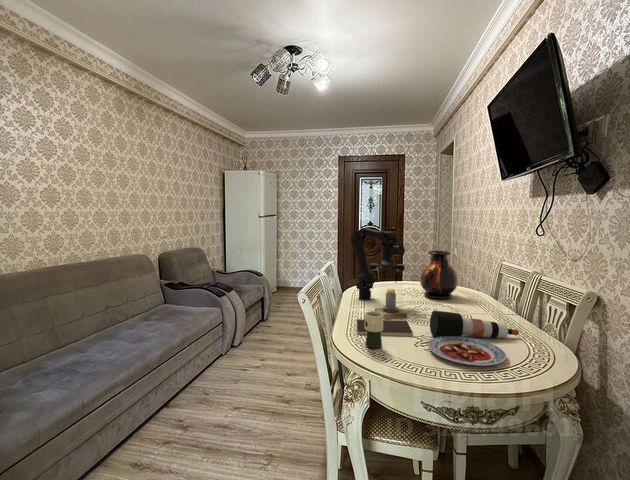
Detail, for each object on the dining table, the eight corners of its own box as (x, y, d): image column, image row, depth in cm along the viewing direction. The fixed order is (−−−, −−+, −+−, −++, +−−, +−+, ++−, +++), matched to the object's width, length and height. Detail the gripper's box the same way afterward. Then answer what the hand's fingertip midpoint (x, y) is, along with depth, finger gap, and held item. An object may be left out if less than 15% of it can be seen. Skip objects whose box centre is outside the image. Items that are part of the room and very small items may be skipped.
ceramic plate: (468, 377, 105) (468, 368, 105) (413, 347, 128) (413, 339, 128) (523, 362, 115) (523, 354, 115) (463, 337, 139) (463, 330, 138)
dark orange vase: (414, 293, 213) (414, 250, 211) (446, 292, 216) (447, 249, 214) (429, 302, 192) (430, 254, 190) (464, 301, 194) (465, 253, 192)
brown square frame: (374, 312, 173) (374, 308, 173) (395, 310, 176) (395, 306, 176) (384, 319, 162) (385, 315, 161) (407, 317, 165) (407, 313, 164)
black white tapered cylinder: (517, 350, 135) (527, 333, 130) (433, 340, 137) (439, 323, 132) (507, 331, 144) (517, 314, 138) (428, 322, 145) (434, 305, 140)
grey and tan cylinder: (383, 315, 169) (384, 289, 167) (388, 312, 172) (388, 287, 171) (393, 316, 165) (393, 291, 164) (397, 314, 169) (397, 289, 168)
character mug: (365, 340, 135) (365, 308, 134) (383, 341, 133) (383, 310, 132) (363, 351, 124) (363, 317, 123) (382, 352, 123) (383, 318, 122)
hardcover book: (412, 337, 139) (412, 332, 139) (357, 335, 142) (357, 330, 141) (406, 325, 155) (406, 320, 155) (356, 323, 157) (356, 318, 157)
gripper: (368, 255, 179) (368, 284, 180) (404, 256, 174) (404, 286, 175) (370, 253, 189) (370, 280, 190) (404, 254, 184) (404, 282, 185)
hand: (386, 282), depth 185 cm, fingers open, 9 cm apart
